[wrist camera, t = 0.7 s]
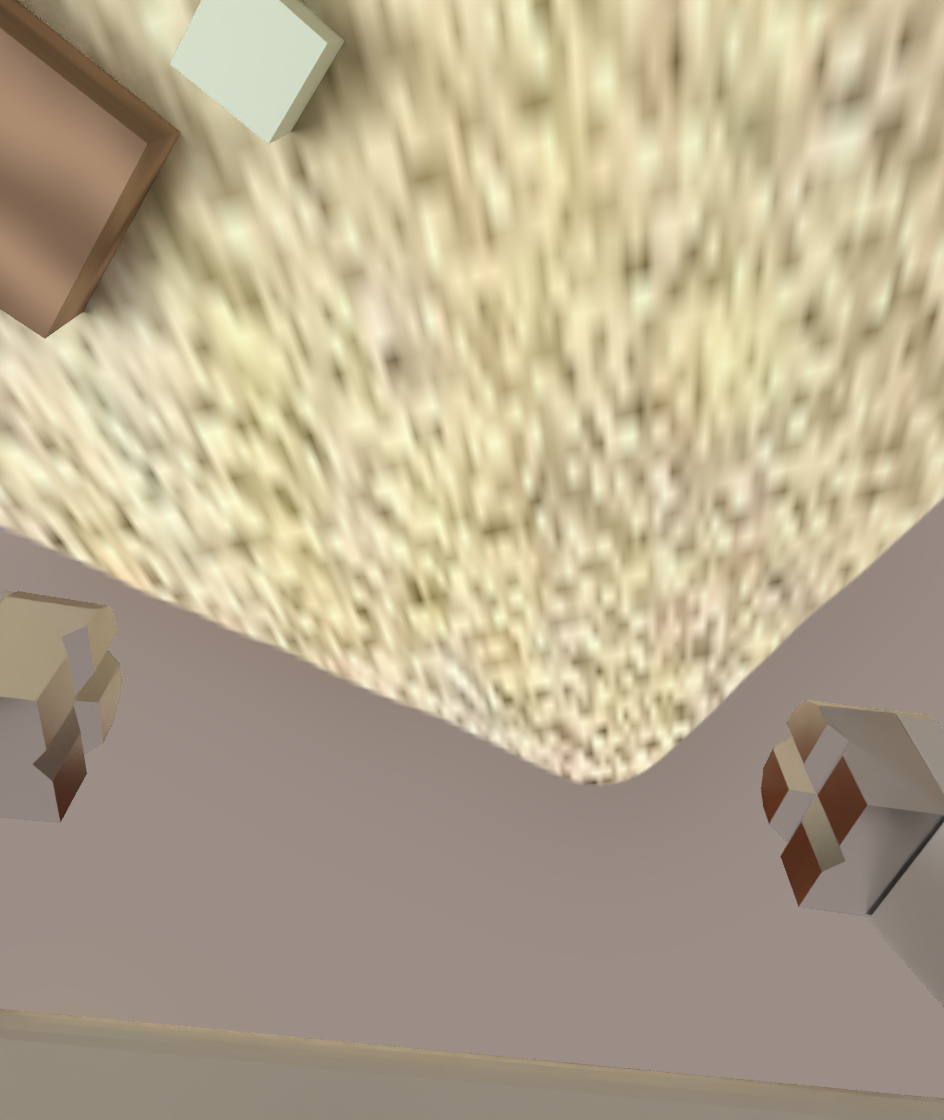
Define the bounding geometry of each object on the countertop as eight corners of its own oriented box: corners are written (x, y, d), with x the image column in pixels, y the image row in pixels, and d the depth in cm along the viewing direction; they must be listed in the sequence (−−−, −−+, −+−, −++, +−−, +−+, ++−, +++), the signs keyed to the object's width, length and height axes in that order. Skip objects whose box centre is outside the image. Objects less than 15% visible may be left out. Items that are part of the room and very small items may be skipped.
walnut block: (-49, -55, 37) (-118, -65, 33) (182, 131, 41) (147, 143, 37) (-127, 164, 42) (-194, 180, 38) (84, 310, 46) (44, 338, 42)
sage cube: (255, -40, 37) (225, -48, 33) (345, 40, 38) (327, 43, 34) (203, 59, 39) (169, 63, 35) (291, 131, 41) (268, 143, 37)
